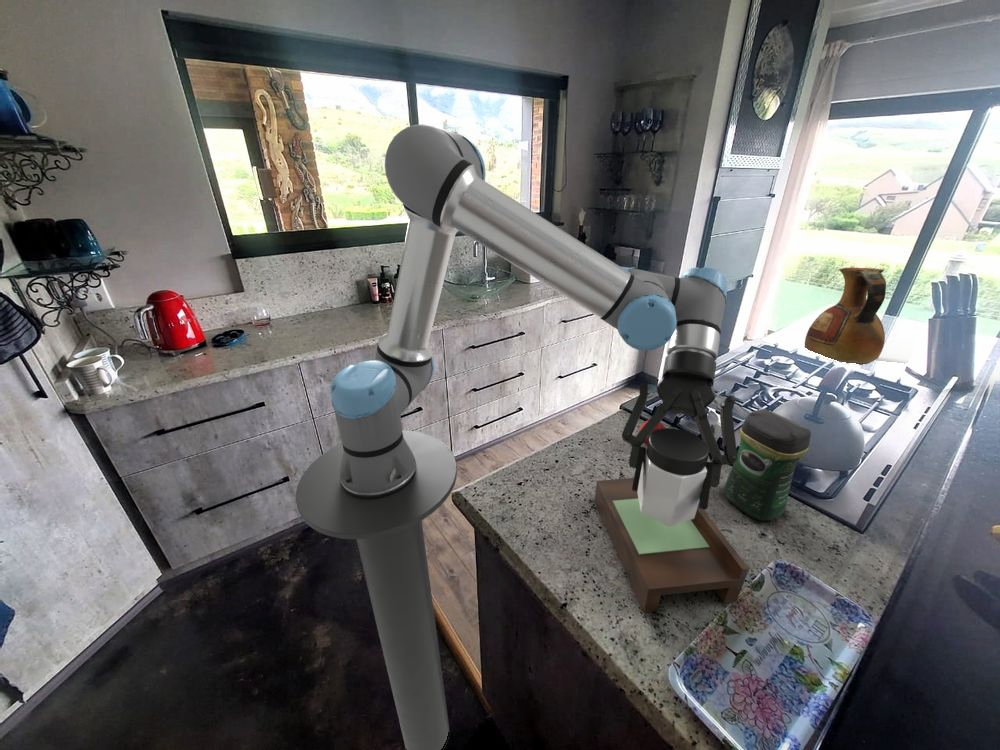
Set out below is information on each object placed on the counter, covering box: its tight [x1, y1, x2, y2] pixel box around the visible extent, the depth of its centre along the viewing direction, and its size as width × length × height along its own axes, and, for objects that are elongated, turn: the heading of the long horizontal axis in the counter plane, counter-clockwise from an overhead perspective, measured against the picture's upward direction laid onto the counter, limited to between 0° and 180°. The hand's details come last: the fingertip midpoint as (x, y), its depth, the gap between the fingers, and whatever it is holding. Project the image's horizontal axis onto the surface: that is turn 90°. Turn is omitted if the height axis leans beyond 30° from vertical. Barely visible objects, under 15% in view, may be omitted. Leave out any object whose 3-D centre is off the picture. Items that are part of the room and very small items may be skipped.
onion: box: [638, 419, 666, 447], centre depth 90 cm, size 6×6×8 cm
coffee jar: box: [722, 408, 812, 522], centre depth 71 cm, size 10×8×19 cm
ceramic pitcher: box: [804, 266, 887, 366], centre depth 127 cm, size 20×20×30 cm
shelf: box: [594, 477, 750, 613], centre depth 66 cm, size 22×14×7 cm, turn 6°
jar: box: [637, 427, 709, 527], centre depth 61 cm, size 9×8×12 cm
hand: (667, 499), depth 59 cm, fingers closed on jar, 9 cm apart
